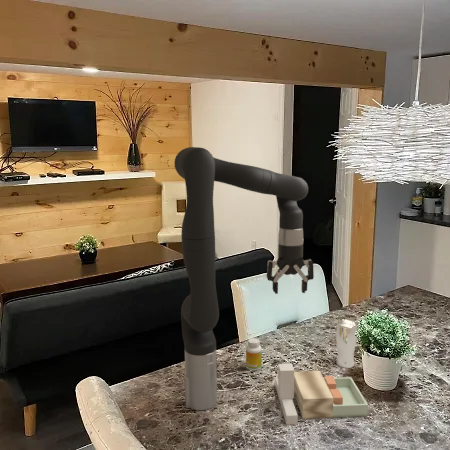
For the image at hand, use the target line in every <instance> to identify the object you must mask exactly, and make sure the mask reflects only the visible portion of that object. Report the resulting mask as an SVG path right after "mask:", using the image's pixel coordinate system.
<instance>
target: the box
mask: <svg viewBox="0 0 450 450" xmlns="http://www.w3.org/2000/svg"><path fill="white" fill-rule="evenodd" d="M323 378H324V380H325V377H323ZM333 378H334V380H335V382H336V389H339V391H340V393H341V395H342V397H343V405H335V404H334V402H333V417H332V418H352V417H354V418H355V417H368V414H369V404H368V402H367V400H366V398H365V397H364V395H363V394H362V393H361V391H360V389H359V387H358V386H357V385H356V383H355V381H354V380H353V377H352V376H348V377H347V376H346V377H333Z"/></svg>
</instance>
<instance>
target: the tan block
mask: <svg viewBox="0 0 450 450" xmlns="http://www.w3.org/2000/svg"><path fill="white" fill-rule="evenodd" d="M324 378H325V377H324V376H323V374H322V372H321V370H313V371H312V370H309V371H307V370H306V371H294V398H295V402H296V403H297V405H298V408H299V411H300V412H299V413H300V415H301V417H302V419H303V420H304V419H320V418H321V419H322V418H323V419H326V418H327V419H328V418H330V419H331V418H334V417H333V396H332V394H331V392H330V390H329V388H328V386H327V384H326V382H325V380H324Z"/></svg>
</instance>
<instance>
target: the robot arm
mask: <svg viewBox="0 0 450 450" xmlns="http://www.w3.org/2000/svg"><path fill="white" fill-rule="evenodd" d="M174 168H175V171H176V174H178V175H179V176H180V177H181V178H182V179H184V183H185V193H186V206H185V211H184V214H183V218H182V219H183V220H182V225H181V234H180V235H181V253H182V257H183V263H184V267H185V270H186V274H187V277H188V278H187V279H188V281H189V287H190V288H189V289H190V290H189V291H190V294H189V295H188V296H186V297H185V298H184V300H183V302H182V304H181V308H180V320H181V321H180V322H181V333H182V334H181V335H182V340H183V344H184V369H185V372H184V391H185V392H184V394H185V395H184V397H185V408H186V409H188V408H189V409H191V410H196V411H206V410H210V409H212V408H213V407H215V406H216V404H217V402H218V400H217V399H218V394H217V392H218V391H217V388H218V387H217V386H218V385H217V377H218V376H217V339H216V336H215V334H214V331H213V329H215V327H216V326H217V324H218V321H219V318H220V310H219V309H220V308H219V301H218V293H217V287H216V286H217V285H216V284H217V283H216V231H215V215H214V214H215V212H214V188H215V187H214V186H215V182H218V183H222V184H226V185H230V186H233V187H236V188H239V189H243V190H246V191H250V192H254V193H259V194H262V195H269V196H275V197H276V203H277V208H278V212H279V221H278V222H279V223H278V224H279V226H278V227H279V228H278V236H277V237H278V239H277V243H278V244H277V259H276V260H271V259H268V260H267V266H266V278H267V281H271V282H272V291H273V293H275V295H279V294H278V293H279V282H278V281H279V280H280V278H282V277H283V276H284V275H285V276H289V275H293V276H295V275H297V274H298V276H300V278H301V292H302V294H306V292H307V291H308V281H310V280H314V277H315V276H314V272H315V271H314V261H313V260H312V259H311V258H308V259H305V260H304V258H303V257H304V228H303V226H304V224H303V221H304V214H303V209H301V208H300V207H299V206H298V203H297V202H298V201H302V200H303V199H305V198H306V197H307V195H308V193H309V185H308V183H307V181H306V180H304V179H303V178H302V177H299V176H295V175H289V174H285V173H278V172H275V171H272V170H270V169H266V168H262V167H258V166H254V165H249V164H244V163H243V164H242V163H237V162H231V161H226V160H223V159H219V158H216V157H214V156H213V154H212V153H211V152H210V151H209V150H208V149H206V148H204V147H201V146H199V147H198V146H197V147H196V146H189V147H186V148H183V149H181V150H180V151H179V152H178V153H177V154H176V155H175V158H174ZM276 266H277V267H278V269H277V270H276V272H275V273H274V274H273V269H274V268H275V267H276ZM304 266H306V268H307V275H306V274H304V272H303V271H302V268H303V267H304Z"/></svg>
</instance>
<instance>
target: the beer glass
mask: <svg viewBox="0 0 450 450" xmlns="http://www.w3.org/2000/svg"><path fill="white" fill-rule="evenodd" d="M356 330H357V331H358V323H357V322H356V321H354V320H352V319H339V320H338V321H337V322H336V334H335V335H336V336H335V337H336V338H335V339H336V347H337V358H336V365H337V366H339V368H344V369H350V368H351V369H352V368H353V367H354V366H355V357H354V355H355V350H356V346H357V341H358V336H357V337H356V336H355V331H356Z"/></svg>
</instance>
